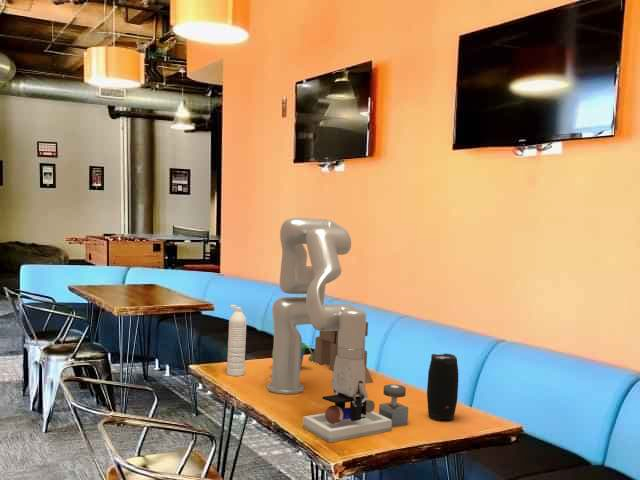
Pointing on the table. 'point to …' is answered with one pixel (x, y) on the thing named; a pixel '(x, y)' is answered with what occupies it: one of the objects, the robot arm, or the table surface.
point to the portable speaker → (442, 387)
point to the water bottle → (236, 343)
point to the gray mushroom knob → (394, 393)
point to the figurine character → (338, 414)
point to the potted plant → (302, 352)
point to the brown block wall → (333, 350)
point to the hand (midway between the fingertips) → (347, 415)
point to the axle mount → (394, 413)
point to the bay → (346, 426)
